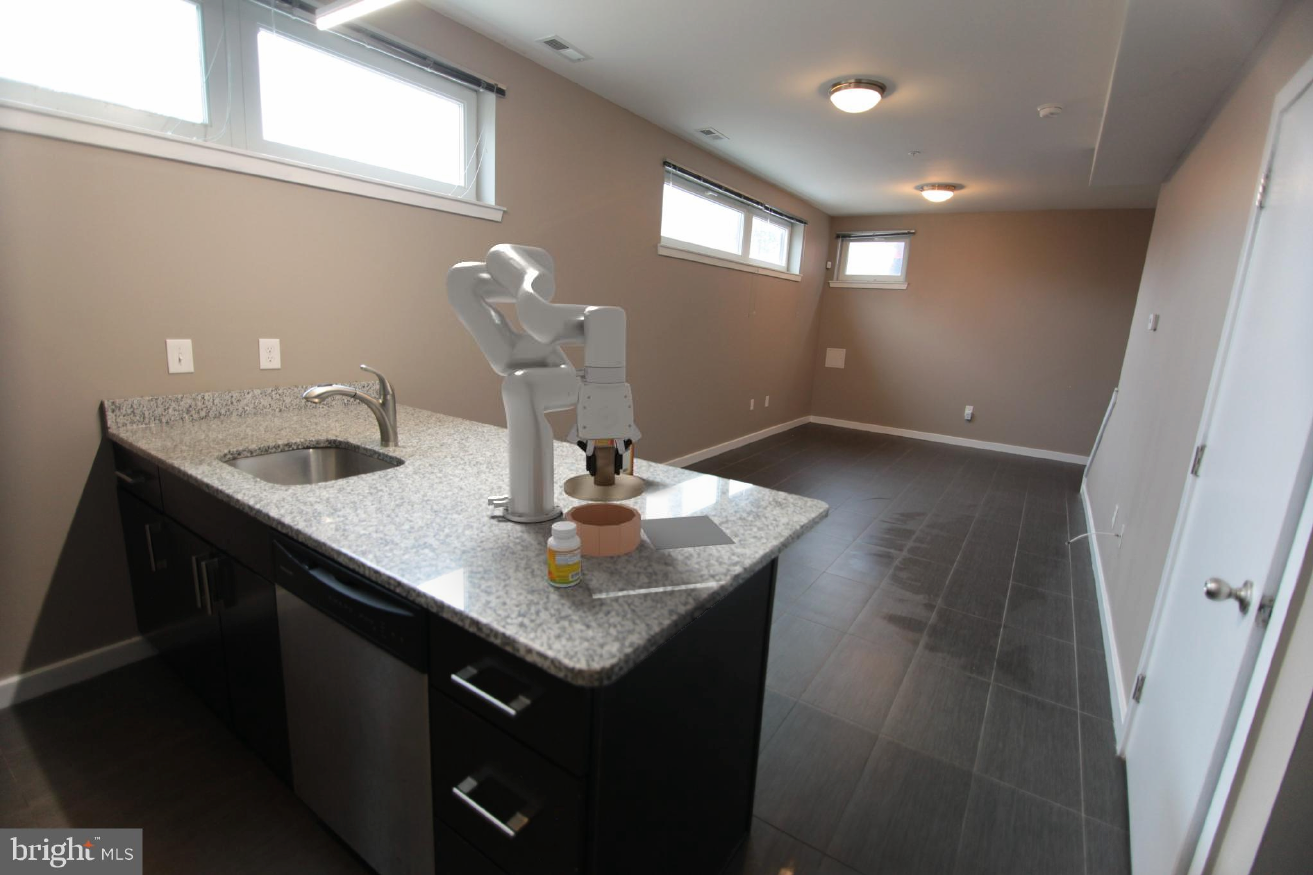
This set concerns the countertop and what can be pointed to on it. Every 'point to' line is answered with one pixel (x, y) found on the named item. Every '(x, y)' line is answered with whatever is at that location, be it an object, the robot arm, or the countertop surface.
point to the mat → (684, 532)
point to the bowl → (606, 528)
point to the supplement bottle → (564, 555)
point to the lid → (604, 481)
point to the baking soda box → (627, 456)
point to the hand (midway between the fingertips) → (604, 473)
